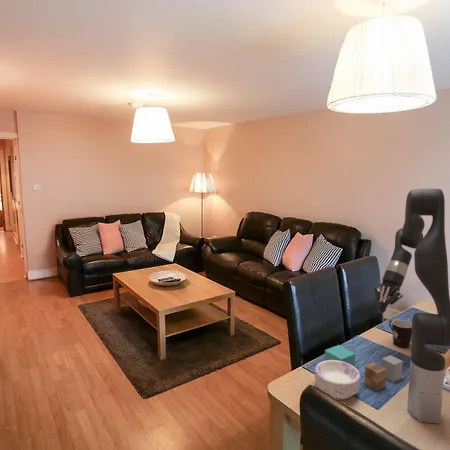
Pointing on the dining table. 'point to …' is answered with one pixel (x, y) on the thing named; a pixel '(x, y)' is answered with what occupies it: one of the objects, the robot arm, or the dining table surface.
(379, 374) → the walnut block
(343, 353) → the teal block
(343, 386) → the paper bowls
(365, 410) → the dining table surface
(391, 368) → the slate-grey block
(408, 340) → the coffee mug
